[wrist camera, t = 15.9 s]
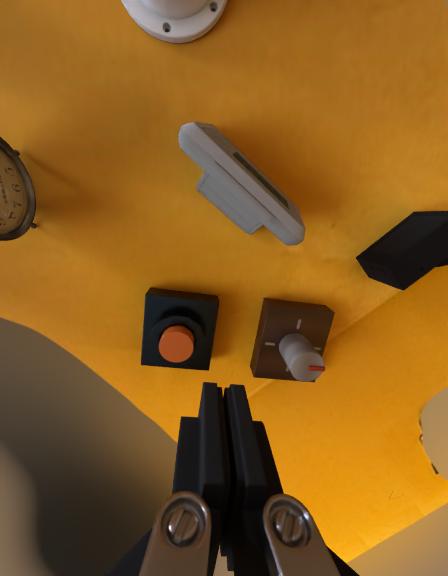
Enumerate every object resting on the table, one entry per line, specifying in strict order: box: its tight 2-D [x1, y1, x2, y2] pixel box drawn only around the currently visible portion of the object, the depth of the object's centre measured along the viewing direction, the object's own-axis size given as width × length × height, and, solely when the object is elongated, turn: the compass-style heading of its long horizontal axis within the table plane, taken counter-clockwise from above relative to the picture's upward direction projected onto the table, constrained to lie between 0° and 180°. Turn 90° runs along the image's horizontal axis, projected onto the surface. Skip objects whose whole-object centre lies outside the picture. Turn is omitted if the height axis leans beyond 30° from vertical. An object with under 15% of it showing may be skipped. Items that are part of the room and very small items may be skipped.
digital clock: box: [179, 122, 305, 245], centre depth 28 cm, size 16×9×11 cm, turn 39°
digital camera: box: [356, 211, 448, 290], centre depth 34 cm, size 10×5×7 cm, turn 130°
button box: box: [141, 288, 219, 371], centre depth 36 cm, size 11×10×5 cm
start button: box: [159, 325, 194, 362], centre depth 33 cm, size 4×4×2 cm
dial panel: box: [250, 298, 335, 382], centre depth 39 cm, size 12×10×3 cm
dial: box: [279, 333, 325, 382], centre depth 34 cm, size 4×4×6 cm
